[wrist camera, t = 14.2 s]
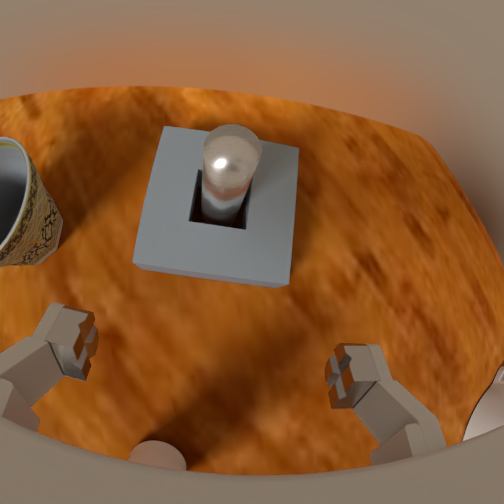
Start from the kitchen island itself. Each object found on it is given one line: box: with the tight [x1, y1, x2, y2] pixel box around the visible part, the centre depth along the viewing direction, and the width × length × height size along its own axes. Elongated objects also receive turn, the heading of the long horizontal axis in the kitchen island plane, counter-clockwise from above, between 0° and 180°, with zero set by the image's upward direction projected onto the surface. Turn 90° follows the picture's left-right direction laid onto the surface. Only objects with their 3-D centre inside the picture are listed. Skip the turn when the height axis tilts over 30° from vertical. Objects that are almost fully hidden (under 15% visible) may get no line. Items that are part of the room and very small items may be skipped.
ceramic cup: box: [0, 137, 63, 267], centre depth 20 cm, size 13×10×10 cm
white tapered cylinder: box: [127, 440, 187, 471], centre depth 15 cm, size 7×7×15 cm
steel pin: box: [201, 124, 262, 227], centre depth 22 cm, size 3×3×12 cm
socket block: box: [133, 126, 299, 288], centre depth 26 cm, size 12×12×4 cm
